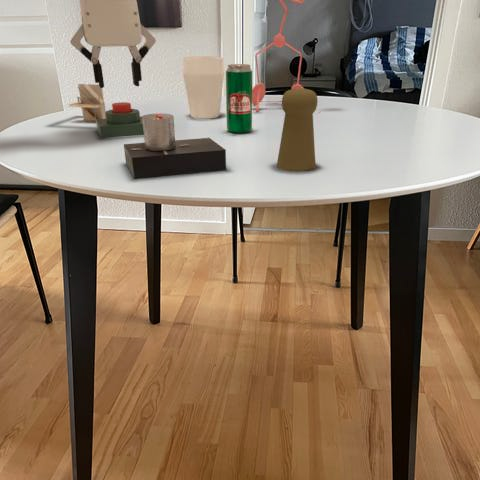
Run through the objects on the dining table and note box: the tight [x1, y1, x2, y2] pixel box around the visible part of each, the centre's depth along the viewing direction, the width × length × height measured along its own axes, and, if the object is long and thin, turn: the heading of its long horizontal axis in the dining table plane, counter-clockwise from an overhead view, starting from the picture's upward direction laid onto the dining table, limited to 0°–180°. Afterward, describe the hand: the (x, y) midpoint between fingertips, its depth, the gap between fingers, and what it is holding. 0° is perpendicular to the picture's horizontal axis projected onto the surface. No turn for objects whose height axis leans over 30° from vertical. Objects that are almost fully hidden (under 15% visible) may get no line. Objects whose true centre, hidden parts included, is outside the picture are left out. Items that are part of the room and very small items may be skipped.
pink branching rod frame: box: [252, 0, 321, 114], centre depth 116 cm, size 15×26×35 cm, turn 76°
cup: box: [182, 56, 225, 120], centre depth 112 cm, size 9×9×12 cm
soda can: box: [225, 63, 253, 135], centre depth 97 cm, size 5×5×12 cm
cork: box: [276, 87, 318, 172], centre depth 75 cm, size 6×6×11 cm
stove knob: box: [141, 112, 176, 151], centre depth 74 cm, size 5×5×5 cm
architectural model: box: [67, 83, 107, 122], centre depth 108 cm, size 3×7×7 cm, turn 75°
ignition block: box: [95, 108, 144, 139], centre depth 99 cm, size 10×8×4 cm
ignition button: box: [111, 101, 132, 113], centre depth 98 cm, size 4×4×2 cm
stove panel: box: [123, 137, 227, 179], centre depth 77 cm, size 14×9×3 cm, turn 109°
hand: (119, 85), depth 96 cm, fingers open, 6 cm apart
